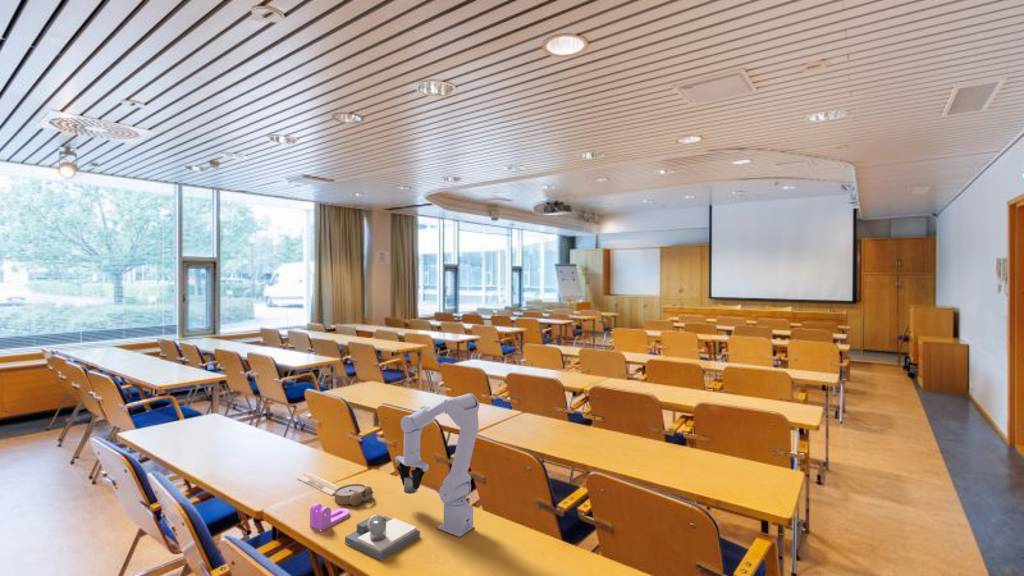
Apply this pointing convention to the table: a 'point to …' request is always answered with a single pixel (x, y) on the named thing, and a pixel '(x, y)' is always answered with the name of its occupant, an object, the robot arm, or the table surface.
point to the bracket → (326, 516)
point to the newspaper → (319, 483)
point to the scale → (395, 539)
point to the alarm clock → (353, 494)
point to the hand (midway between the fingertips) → (411, 486)
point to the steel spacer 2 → (409, 484)
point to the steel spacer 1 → (377, 529)
